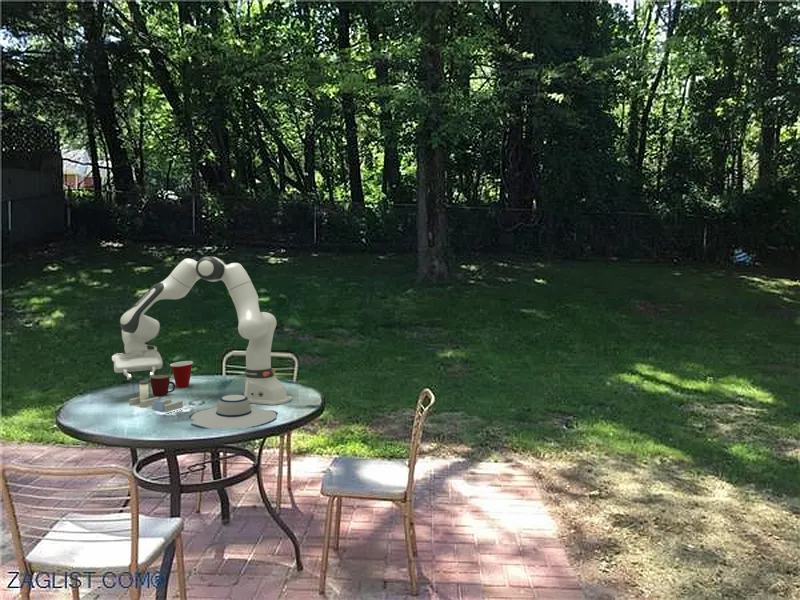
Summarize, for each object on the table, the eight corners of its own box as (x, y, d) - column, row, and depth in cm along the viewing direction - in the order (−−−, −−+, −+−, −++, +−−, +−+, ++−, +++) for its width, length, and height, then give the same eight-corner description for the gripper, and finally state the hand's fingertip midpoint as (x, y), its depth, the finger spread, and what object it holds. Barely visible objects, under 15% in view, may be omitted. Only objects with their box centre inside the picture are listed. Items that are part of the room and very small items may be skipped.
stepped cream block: (182, 410, 295) (182, 397, 294) (165, 415, 287) (165, 402, 286) (146, 404, 305) (145, 391, 305) (128, 408, 297) (128, 396, 296)
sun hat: (177, 415, 291) (177, 393, 290) (260, 404, 310) (259, 384, 309) (202, 436, 260) (202, 412, 259) (292, 423, 279) (292, 400, 278)
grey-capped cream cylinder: (151, 403, 300) (150, 380, 299) (144, 405, 297) (143, 382, 296) (144, 402, 302) (144, 379, 301) (137, 404, 299) (137, 381, 298)
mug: (174, 395, 322) (173, 373, 321) (176, 398, 315) (176, 377, 314) (150, 397, 318) (149, 375, 317) (152, 401, 311) (151, 379, 310)
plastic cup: (170, 385, 343) (169, 361, 342) (193, 383, 346) (192, 360, 345) (170, 390, 333) (169, 365, 332) (193, 388, 336) (193, 364, 335)
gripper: (111, 349, 303) (116, 376, 296) (160, 346, 314) (165, 371, 307) (110, 358, 308) (114, 384, 300) (158, 354, 318) (163, 379, 311)
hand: (140, 377), depth 304 cm, fingers open, 8 cm apart
